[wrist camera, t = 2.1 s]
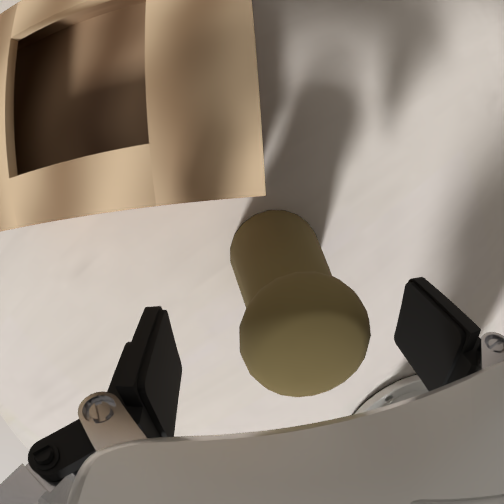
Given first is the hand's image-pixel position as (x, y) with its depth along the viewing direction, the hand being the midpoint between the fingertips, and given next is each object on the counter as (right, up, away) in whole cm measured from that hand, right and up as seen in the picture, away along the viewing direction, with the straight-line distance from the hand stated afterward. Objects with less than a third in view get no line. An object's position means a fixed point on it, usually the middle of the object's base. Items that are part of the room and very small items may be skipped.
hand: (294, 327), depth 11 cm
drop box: (-11, +13, +5) cm, 18 cm away
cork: (0, +3, +9) cm, 10 cm away
